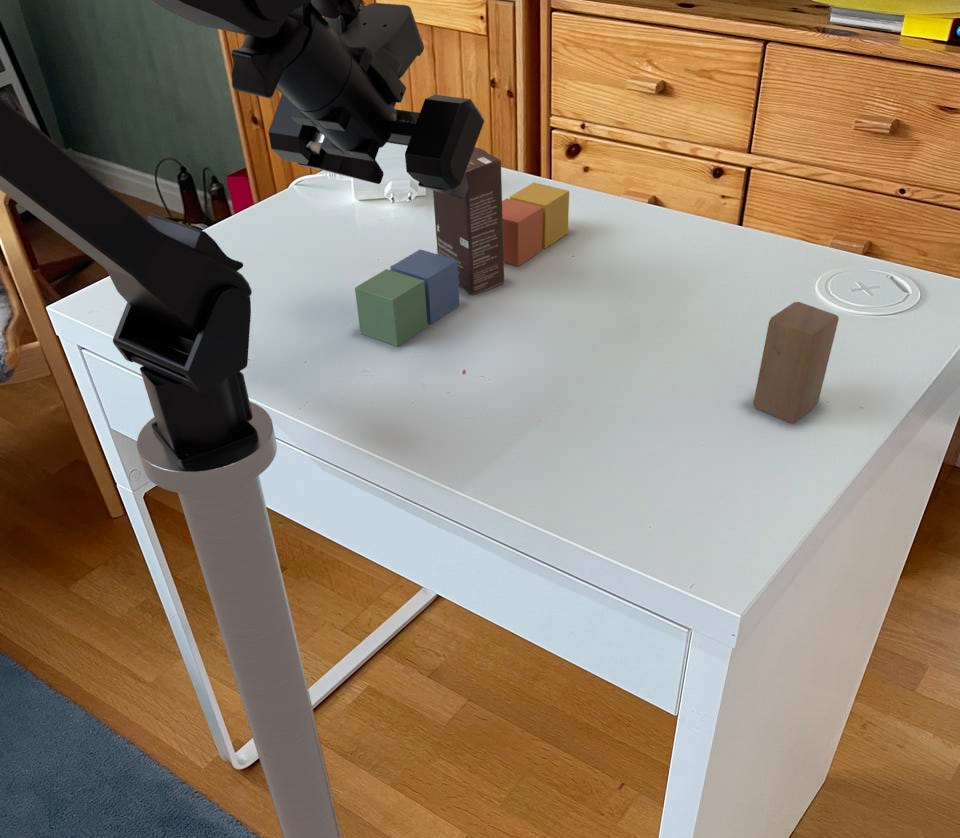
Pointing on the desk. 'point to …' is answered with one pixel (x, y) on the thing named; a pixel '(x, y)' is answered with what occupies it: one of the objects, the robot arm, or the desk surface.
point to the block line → (455, 268)
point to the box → (474, 225)
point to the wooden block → (794, 361)
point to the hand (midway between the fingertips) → (421, 185)
